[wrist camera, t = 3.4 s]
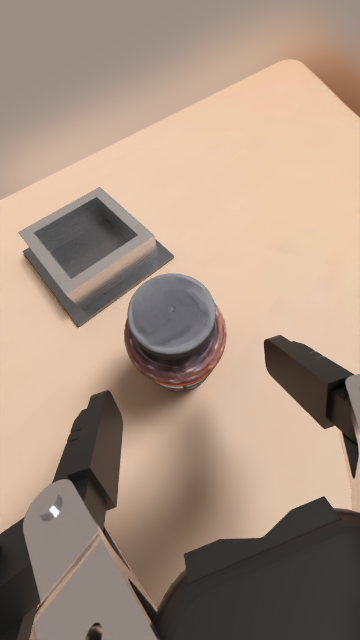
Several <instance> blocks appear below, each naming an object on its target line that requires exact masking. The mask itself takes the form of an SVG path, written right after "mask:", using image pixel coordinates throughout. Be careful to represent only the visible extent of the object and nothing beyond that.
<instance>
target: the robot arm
mask: <svg viewBox="0 0 360 640" xmlns="http://www.w3.org/2000/svg"><path fill="white" fill-rule="evenodd" d="M264 351H265V363H266V368H267V370H268V372H269V374H270V375H271V376H272V377H273V378H274V379H275V380H276V381H277V382H278V383H279V384H280V385H281V386H282V387H283V388H284V389H285V390H286V391H287V392H288V393H289V394H290V395H291V396H292V397H293V398H294V399H295V400H296V401H297V402H298V403H299V404H300V405H301V406H302V407H303V408H304V409H305V410H306V411H307V412H308V413H309V414H310V415H311V416H312V417H313V418H314V419H315V420H316V421H317V422H318V423H319V424H320V425H321V426H322V427H323V428H324V429H327V428H329V427H332V426H336V427H337V428H338V429H340V439H341V444H342V448H343V453H344V457H345V462H346V467H347V471H348V476H349V480H350V486H351V499H352V510H353V511H352V510H348V509H339V508H333V507H332V506H331V505H330V503H329V502H328V501H327V499H326V498H325V497H321V498H319V499H316V500H314V501H311V502H309V503H307V504H304V505H302V506H299V507H297V508H295V509H292V510H291V511H290V512H289V513H288V514H287V515H286V516H285V517H284V518H282V519H281V520H280V521H279V522H278V523H277V524H276V525H275V526H274V527H273V528H272V529H271V530H270V531H269V532H268V533H267V534H266V535H265V536H264V537H261V538H248V539H219V540H217V541H214V542H212V543H210V544H207V545H205V546H202V547H200V548H198V549H195V550H193V551H190V552H188V553H185V554H184V558H185V565H186V569H185V570H184V571H183V572H182V573H181V574H180V575H179V576H178V577H177V578H176V580H175V581H174V582H173V583H172V585H171V586H170V588H169V590H168V591H167V593H166V594H165V596H164V598H163V600H162V602H161V604H160V606H159V608H158V610H157V608H156V607H155V605H154V603H153V602H152V600H151V598H150V597H149V595H148V594H147V592H146V591H145V589H144V588H143V586H142V585H141V583H140V582H139V580H138V579H137V577H136V576H135V574H134V573H133V571H132V569H131V568H130V566H129V564H128V563H127V561H126V559H125V558H124V556H123V554H122V553H121V551H120V550H119V548H118V546H117V545H116V543H115V541H114V540H113V538H112V536H111V535H110V533H109V531H108V530H107V528H106V526H105V525H104V521H105V513H106V511H107V510H110V509H112V508H115V507H116V506H117V494H118V482H119V469H120V457H121V444H122V432H123V420H122V416H121V413H120V411H119V409H118V407H117V405H116V403H115V401H114V399H113V397H112V394H111V393H110V391H109V390H107V391H104V392H101V393H98V394H95V395H92V396H91V398H90V401H89V404H88V407H87V409H84V410H82V411H81V413H80V414H79V415H78V417H77V418H76V419H75V421H74V423H73V426H72V429H71V434H70V435H69V437H68V440H67V444H66V446H65V449H64V451H63V454H62V457H61V460H60V463H59V466H58V468H57V471H56V474H55V477H54V480H53V482H52V484H51V485H49V486H48V487H46V488H45V489H44V490H43V491H42V492H41V493H40V494H39V495H38V496H37V497H36V498H35V500H34V501H33V503H32V504H31V506H30V507H29V509H28V511H27V513H26V516H25V517H24V518H23V519H21V520H20V521H18V522H17V523H16V524H14V525H13V526H11V527H10V528H8V529H7V530H5V531H4V532H2V533H1V534H0V640H29V637H30V633H31V628H32V624H33V620H34V627H35V634H36V639H37V640H360V374H357V375H354V374H352V373H351V372H349V371H348V370H346V369H344V368H343V367H341V366H339V365H338V364H336V363H334V362H333V361H331V360H329V359H328V358H326V357H323V356H322V355H321V354H320V353H318V352H315V351H314V350H313V349H311V348H310V347H308V346H306V345H305V344H301V343H298V342H295V341H292V342H291V341H289V340H288V339H286V338H284V337H283V336H281V335H278V336H275V337H272V338H269V339H266V340H265V341H264ZM40 602H41V605H40V607H39V608H38V609H37V611H36V608H37V605H38V604H39V603H40Z"/></svg>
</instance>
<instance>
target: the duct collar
mask: <svg viewBox="0 0 360 640" xmlns="http://www.w3.org/2000/svg"><path fill="white" fill-rule="evenodd" d="M18 233H19V234H20V236H21V237H22V238H23V239H24V241H25V242H26V243H27V245H28V246H29V248H28V249H26V250H24V251H23V253H24V254H25V255H26V257H27V258H28V259H29V261H30V262H31V264H32V265H33V266H34V268H35V269H36V270H37V272H38V273H39V274H40V276H41V277H42V278H43V280H44V281H45V282H46V284H47V285H48V287H49V288H50V289H51V291H52V292H53V293H54V295H55V296H56V297H57V299H58V300H59V301H60V303H61V304H62V305H63V307H64V308H65V309H66V311H67V312H68V314H69V315H70V316H71V318H72V319H73V320H74V322H75V323H76V324H77V326H79V327H80V326H81V325H83V324H84V323H85V322H87V321H88V320H90V319H91V318H92V317H94V316H95V315H96V314H98V313H99V312H100V311H102V310H103V309H105V308H106V307H107V306H109V305H110V304H111V303H113V302H114V301H116V300H117V299H118V298H120V297H121V296H122V295H124V294H125V293H127V292H128V291H129V290H131V289H132V288H133V287H135V286H136V285H137V284H139V283H140V282H142V281H143V280H144V279H146V278H147V277H148V276H150V275H151V274H153V273H154V272H155V271H157V270H158V269H159V268H161V267H162V266H163V265H165V264H166V263H168V262H169V261H170V260H172V259H173V258H174V255H173V254H171V253H170V252H169V251H168V250H167V249H166V248H165V247H164V246H162V245H161V244H160V243H159V242H158V241H157V240H156V239H155V236H154V235H153V234H152V233H151V232H150V231H149V230H148V229H147V228H145V227H144V226H143V225H142V224H141V223H140V222H139V221H138V220H136V219H135V218H134V217H133V216H132V215H131V214H130V213H128V212H127V211H126V210H125V209H124V208H123V207H122V206H121V205H119V204H118V203H117V202H116V201H115V200H114V199H113V198H112V197H110V196H109V195H108V194H107V193H106V192H105V191H104V190H103V189H101V188H100V187H99V188H97V189H95V190H93V191H92V192H90V193H88V194H86V195H84V196H83V197H81V198H79V199H77V200H75V201H74V202H72V203H70V204H68V205H66V206H65V207H63V208H61V209H59V210H57V211H56V212H54V213H52V214H50V215H48V216H47V217H45V218H43V219H41V220H39V221H38V222H36V223H34V224H32V225H30V226H29V227H27V228H25V229H23V230H22V231H20V232H18Z"/></svg>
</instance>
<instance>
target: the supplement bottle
mask: <svg viewBox="0 0 360 640" xmlns="http://www.w3.org/2000/svg"><path fill="white" fill-rule="evenodd" d="M127 315H128V318H127V320H126V324H125V330H124V335H125V336H124V339H125V346H126V350H127V352H128V355H129V357H130V359H131V361H132V362H133V363H134V365H135V366H136V367H137V369H138V370H139V371H140V372H141V373H143V374H144V375H145V376H147V377H148V378H150V379H151V380H153V381H155V382H156V383H158V384H159V385H161V386H163V387H164V388H167V389H169V390H173V391H181V392H182V391H187V390H191V389H194V388H195V387H197V386H199V385H200V384H201V383H202V382H204V381H205V379H206V378H207V377H208V376H209V374H210V373H211V372H212V370H213V369H214V368H215V366H216V365H217V363H218V362H219V360H220V358H221V356H222V354H223V351H224V348H225V343H226V326H225V321H224V318H223V316H222V314H221V312H220V310H219V308H218V307H217V305H216V304H215V303H214V300H213V298H212V296H211V294H210V292H209V291H208V290H207V288H206V287H205V286H204V285H203V284H201V283H200V282H199V281H197V280H196V279H193V278H192V277H189V276H186V275H182V274H171V273H170V274H164V275H159V276H156V277H154V278H152V279H150V280H148V281H146V282H145V283H144V284H142V285H141V286H140V287H139V288H138V289H137V291H136V292H135V293H134V295H133V296H132V298H131V300H130V303H129V307H128V314H127Z"/></svg>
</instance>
